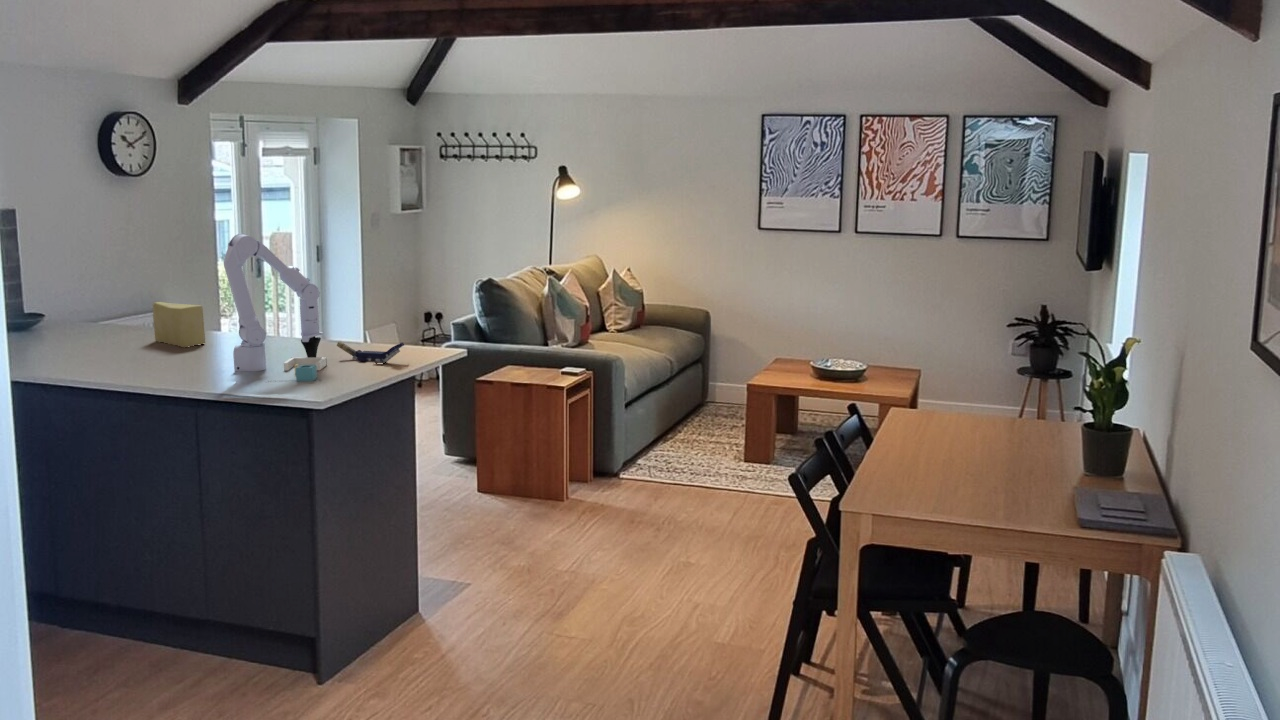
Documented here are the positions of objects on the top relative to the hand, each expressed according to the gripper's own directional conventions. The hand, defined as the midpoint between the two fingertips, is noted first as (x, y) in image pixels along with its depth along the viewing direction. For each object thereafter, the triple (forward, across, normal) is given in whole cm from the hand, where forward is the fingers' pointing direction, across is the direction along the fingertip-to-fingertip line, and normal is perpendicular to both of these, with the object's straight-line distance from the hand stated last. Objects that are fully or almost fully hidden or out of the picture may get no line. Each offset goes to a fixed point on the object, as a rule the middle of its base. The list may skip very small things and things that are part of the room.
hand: (312, 360), depth 376 cm
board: (+2, -16, -2) cm, 16 cm away
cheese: (+2, +46, +61) cm, 76 cm away
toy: (+2, +4, -18) cm, 19 cm away
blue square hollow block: (+1, -27, -5) cm, 27 cm away
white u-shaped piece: (+1, -8, 0) cm, 8 cm away
